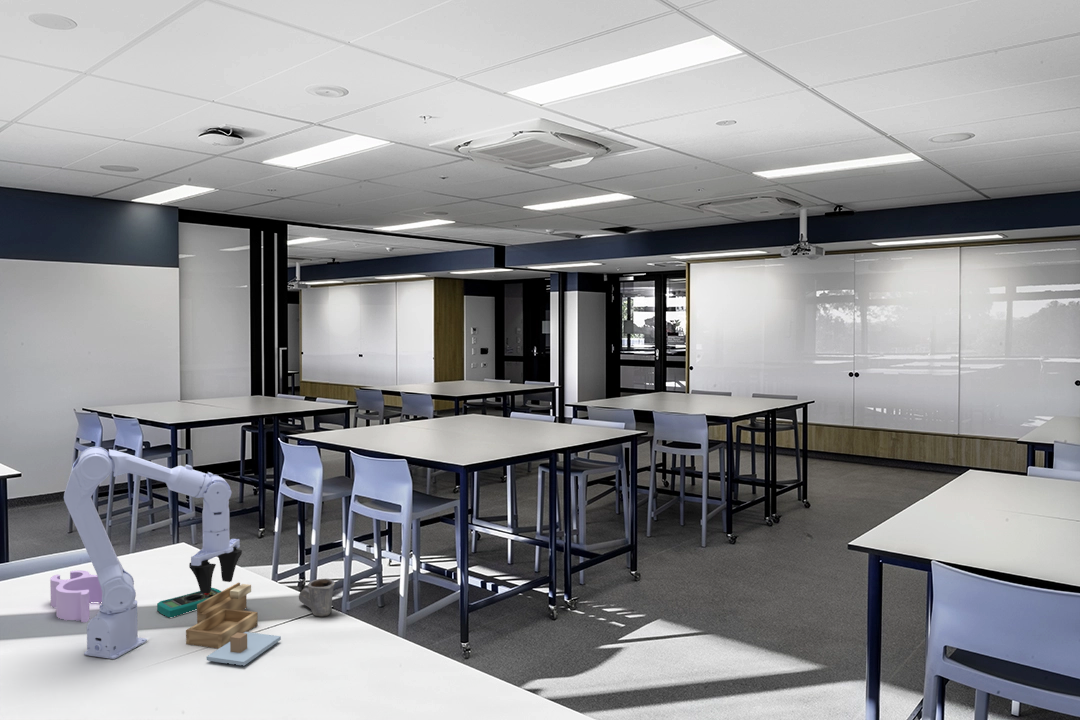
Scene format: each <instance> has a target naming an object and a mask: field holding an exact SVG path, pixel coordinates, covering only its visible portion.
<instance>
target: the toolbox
mask: <svg viewBox="0 0 1080 720" xmlns="http://www.w3.org/2000/svg"><path fill="white" fill-rule="evenodd" d="M240 585H241V582H236V583H235V584H233V585H231V586H229V587H227V588H226V589H223V590H221V591H222V592H220V593H218V594H216V595H214V596H212V597H210V598H208V599H206V600H205V601H203V602H201V603H199V604H197V610H196V622H197V623H196V624H194V625H193V626H191V627H189V628H187V629H185V644H186V645H188V646H196V647H204V648H212V649H217V650H218V649H219V648H221V647H222V646H224V645H225V644H227V643H229V642H230V637H231V636H233V635H234V634H236V633H237V632H238V633H244V632H250V631H251V630H253V629H255V628H256V627H257V626H258V623H259V622H258V616H259V615H258V611H250V610H246V609H247V602H248V601H247V595H245V596H243V597H241V598H240V599H233V598H230V590H232V589H234V588H236V587H238V586H240ZM245 608H246V609H245Z"/></svg>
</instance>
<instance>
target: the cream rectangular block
mask: <svg viewBox="0 0 1080 720" xmlns="http://www.w3.org/2000/svg"><path fill="white" fill-rule="evenodd" d="M251 592H252V584H248V583H247V584H246V583H242V584H241V583H240V586H238V587H236V588H234V589H232V590H230V598H233V599H240V598H241V597H243V596H245V595H246V596H247V595H248V594H250V593H251Z"/></svg>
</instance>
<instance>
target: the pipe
mask: <svg viewBox="0 0 1080 720" xmlns="http://www.w3.org/2000/svg"><path fill="white" fill-rule="evenodd" d="M334 589H335V581H334V580H333V579H331V578H317V579H314V580H312V581H309V583H308V584H307V587H305V588H303V589H302V590H301V591H300V592H299V594H298V601H299V602H300V603H301V604H303V605H305V606H306V607H308V608H309V609H311V612H312V614H313V616H315V617H322V618H323V617H327V616H329V615H331V613H332V610H333V609H332V607H333V595H334V594H333V593H334Z"/></svg>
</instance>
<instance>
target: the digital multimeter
mask: <svg viewBox="0 0 1080 720" xmlns="http://www.w3.org/2000/svg"><path fill="white" fill-rule="evenodd" d="M222 591H223V590H220V589H217V588H215V587H211V591H210V593H201V591H200V590H198V591H194V592H191V593H187V594H184V595H180V596H177V597H171V598H169V599H163V600H160V601H159V602H158V603H156V604H157V605H156V607H157V608H156V610H157V612H158V611H159V612H158V613H160V614H161V615H162V614H163V615H162V616H164V615H165V617H166V616H167V618H169V617H173V618H175V617H174V616H176V617H178V616H177V615H180V614H183V613H186V612H189V611H192V610H195V609H197V604H199V603H201V602H203V601H205V600H206V599H208V598H210V597H212V596H214V595H216V594H218V593H220V592H222ZM189 613H190V612H189ZM186 614H187V613H186ZM183 615H184V614H183ZM180 616H181V615H180Z"/></svg>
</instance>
